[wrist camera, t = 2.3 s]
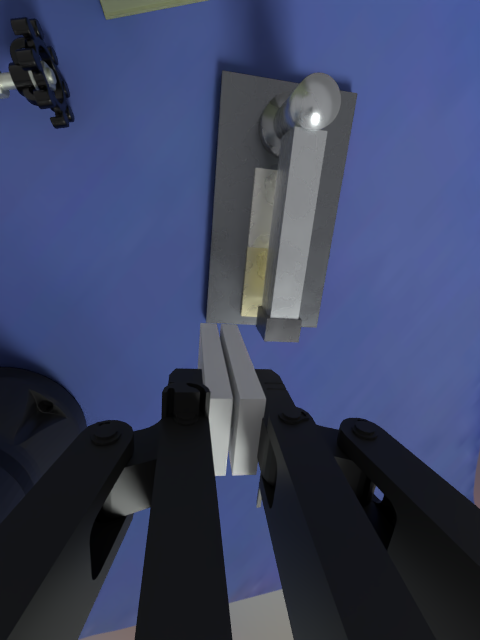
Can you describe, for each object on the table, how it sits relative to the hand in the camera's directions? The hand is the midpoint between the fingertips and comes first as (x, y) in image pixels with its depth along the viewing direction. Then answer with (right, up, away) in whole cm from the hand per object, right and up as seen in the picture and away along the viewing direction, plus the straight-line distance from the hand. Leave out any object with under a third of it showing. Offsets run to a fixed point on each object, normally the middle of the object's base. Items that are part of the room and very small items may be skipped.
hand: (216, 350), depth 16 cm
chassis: (+4, +12, +16) cm, 21 cm away
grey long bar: (+5, +10, +14) cm, 18 cm away
